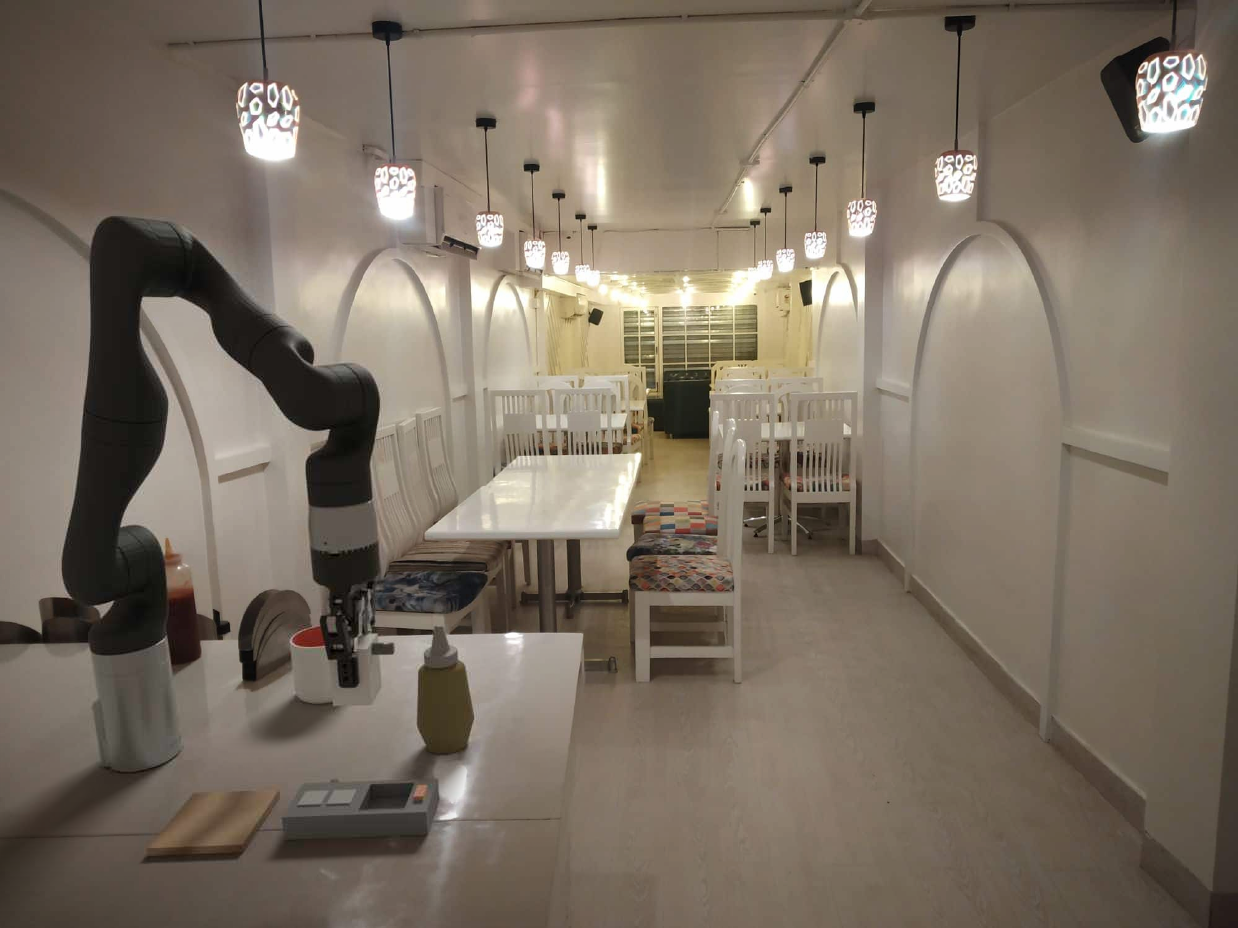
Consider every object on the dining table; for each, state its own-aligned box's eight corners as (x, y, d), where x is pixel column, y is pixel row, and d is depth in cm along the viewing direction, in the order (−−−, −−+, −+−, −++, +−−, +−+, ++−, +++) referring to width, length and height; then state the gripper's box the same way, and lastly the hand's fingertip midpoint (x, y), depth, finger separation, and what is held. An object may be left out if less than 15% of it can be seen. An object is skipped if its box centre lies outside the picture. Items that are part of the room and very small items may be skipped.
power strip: (284, 839, 97) (281, 812, 96) (317, 785, 108) (314, 760, 107) (427, 834, 97) (425, 807, 97) (445, 780, 108) (443, 755, 108)
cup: (299, 712, 128) (293, 652, 126) (292, 687, 137) (286, 631, 135) (365, 697, 133) (359, 639, 131) (354, 674, 141) (348, 619, 139)
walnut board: (148, 855, 95) (147, 848, 95) (194, 799, 106) (193, 792, 105) (243, 852, 95) (242, 844, 95) (280, 796, 106) (279, 789, 106)
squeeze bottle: (463, 762, 113) (454, 639, 109) (408, 757, 114) (398, 636, 111) (484, 732, 120) (476, 617, 117) (433, 728, 122) (424, 614, 119)
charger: (333, 705, 96) (327, 649, 94) (344, 688, 100) (340, 634, 99) (391, 704, 96) (387, 648, 94) (401, 686, 100) (397, 632, 99)
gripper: (331, 523, 101) (342, 652, 104) (288, 558, 87) (302, 706, 90) (392, 521, 101) (401, 651, 104) (359, 557, 87) (371, 705, 90)
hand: (355, 676), depth 97 cm, fingers closed on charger, 4 cm apart
